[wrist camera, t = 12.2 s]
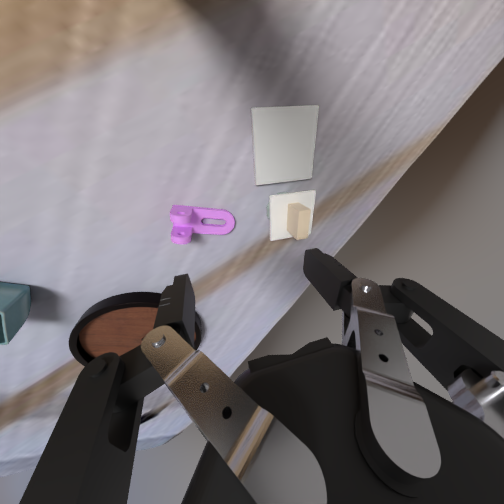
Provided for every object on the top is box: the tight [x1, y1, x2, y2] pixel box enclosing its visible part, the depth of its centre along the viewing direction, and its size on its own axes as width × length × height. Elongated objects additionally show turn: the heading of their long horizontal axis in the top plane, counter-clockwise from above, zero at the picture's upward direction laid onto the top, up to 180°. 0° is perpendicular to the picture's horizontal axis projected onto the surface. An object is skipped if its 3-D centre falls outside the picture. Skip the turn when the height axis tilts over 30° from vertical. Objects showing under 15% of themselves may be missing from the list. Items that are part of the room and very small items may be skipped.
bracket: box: [170, 205, 235, 244], centre depth 37 cm, size 13×6×7 cm, turn 80°
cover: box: [269, 190, 316, 241], centre depth 37 cm, size 10×10×6 cm
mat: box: [251, 105, 319, 185], centre depth 36 cm, size 13×13×1 cm
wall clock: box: [69, 292, 201, 366], centre depth 51 cm, size 31×4×31 cm
